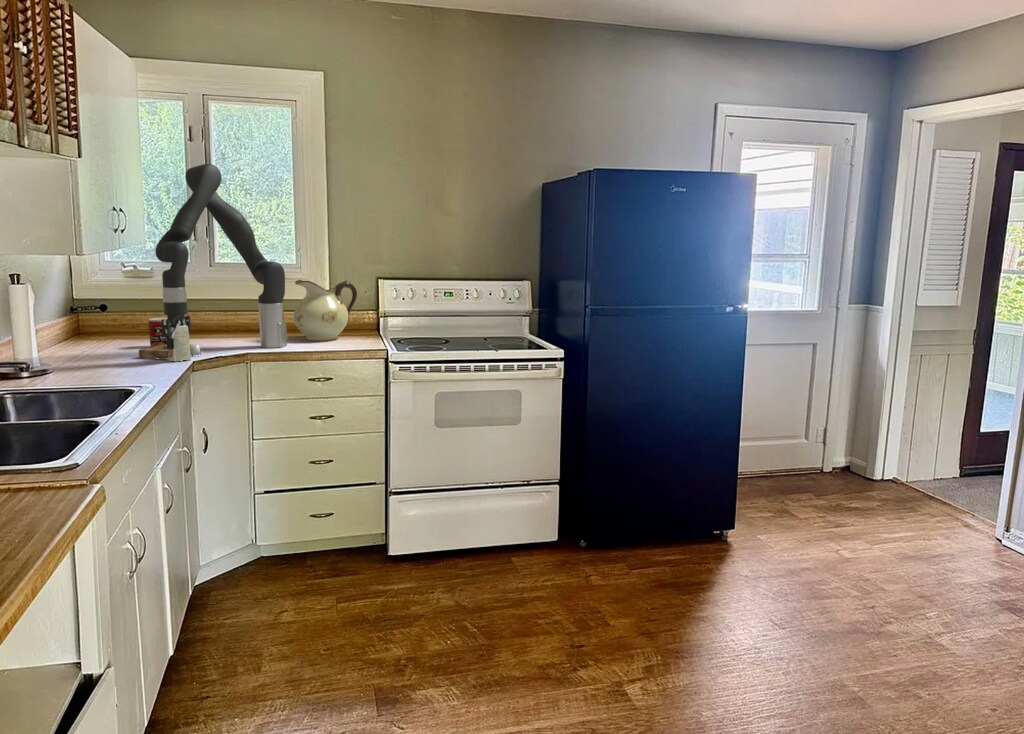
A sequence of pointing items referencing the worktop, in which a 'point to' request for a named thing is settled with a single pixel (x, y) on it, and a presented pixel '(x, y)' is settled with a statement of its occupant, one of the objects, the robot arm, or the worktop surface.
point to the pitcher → (323, 311)
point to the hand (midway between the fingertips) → (177, 347)
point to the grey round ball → (194, 349)
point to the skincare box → (180, 345)
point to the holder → (154, 352)
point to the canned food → (156, 332)
